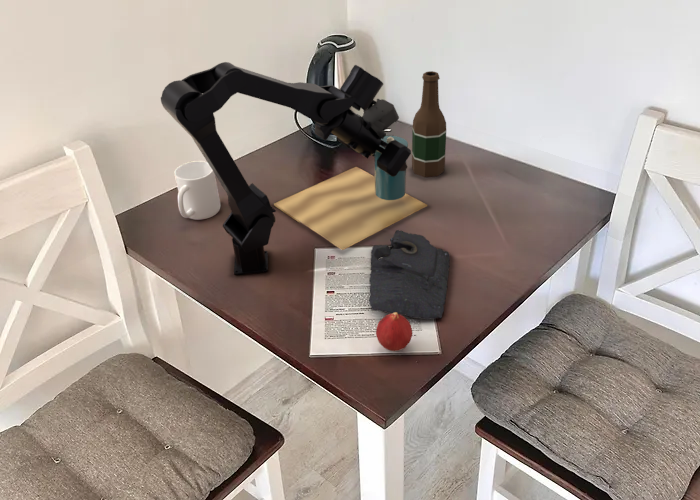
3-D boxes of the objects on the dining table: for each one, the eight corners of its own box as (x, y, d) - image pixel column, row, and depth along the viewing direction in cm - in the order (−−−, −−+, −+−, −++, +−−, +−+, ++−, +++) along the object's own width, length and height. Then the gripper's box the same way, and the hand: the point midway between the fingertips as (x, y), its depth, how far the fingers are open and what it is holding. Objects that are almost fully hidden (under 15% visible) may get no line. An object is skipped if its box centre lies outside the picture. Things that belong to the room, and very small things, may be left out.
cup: (227, 202, 148) (220, 162, 142) (202, 232, 139) (193, 191, 133) (194, 198, 150) (186, 158, 144) (167, 227, 141) (157, 186, 135)
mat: (428, 207, 143) (428, 205, 142) (342, 252, 131) (342, 250, 131) (356, 168, 158) (356, 166, 158) (274, 205, 146) (273, 203, 146)
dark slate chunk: (356, 317, 115) (355, 297, 112) (374, 244, 133) (373, 225, 130) (444, 325, 113) (445, 304, 110) (451, 249, 130) (452, 230, 127)
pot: (409, 199, 139) (410, 143, 131) (376, 202, 138) (375, 146, 131) (403, 182, 144) (404, 128, 137) (371, 185, 144) (370, 130, 136)
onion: (369, 351, 108) (368, 315, 104) (389, 332, 112) (389, 296, 107) (398, 366, 105) (399, 330, 101) (418, 346, 109) (419, 309, 104)
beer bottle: (408, 177, 154) (409, 78, 139) (415, 161, 160) (417, 65, 145) (441, 181, 152) (445, 81, 137) (447, 165, 158) (452, 68, 143)
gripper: (403, 108, 119) (447, 146, 131) (346, 78, 132) (390, 115, 143) (368, 159, 121) (415, 192, 132) (315, 125, 133) (362, 157, 145)
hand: (395, 162), depth 138 cm, fingers closed on pot, 6 cm apart
